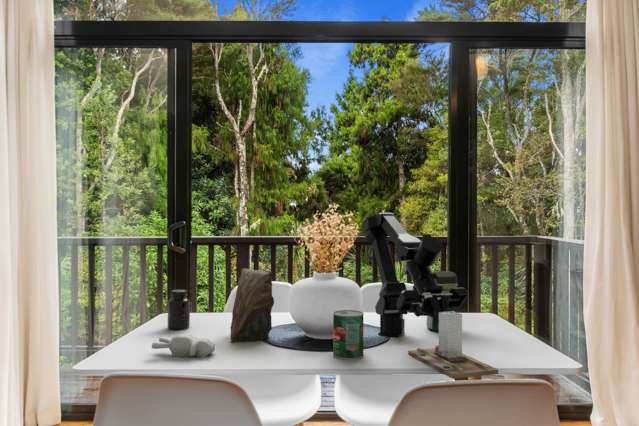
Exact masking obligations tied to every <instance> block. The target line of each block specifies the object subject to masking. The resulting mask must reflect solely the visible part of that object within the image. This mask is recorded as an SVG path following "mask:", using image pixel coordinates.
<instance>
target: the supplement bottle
mask: <svg viewBox="0 0 639 426" xmlns="http://www.w3.org/2000/svg"><path fill="white" fill-rule="evenodd" d="M187 296H188V291H187V290H186V289H173V290H171V294H170V297H171V298H170V299H169V300H168V301H167V329H168V330H171V331H182V330H187V329H189V328H190V321H191V318H190V317H191V316H190V314H191V302H190V299H188V298H187Z"/></svg>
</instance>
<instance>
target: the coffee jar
mask: <svg viewBox="0 0 639 426" xmlns="http://www.w3.org/2000/svg"><path fill="white" fill-rule="evenodd" d="M432 273H433V274H434V273H436V275H437V278H436V282H437V284H438V286H442V287H443V290H442V293H449V291H450V290H451V288H458V284H459V283H458V277H457V273H455V272H453V271H450V270H449V271H447V270H437V271H432ZM457 309H458V308H449V307H447V312H449V311H454V312H457V313H458V311H457ZM426 328H427V330H429V331H434V332H439V323H438V322H437V321H436V320H435V319H434V318H433V317H432V316H431V315H429V316H426Z"/></svg>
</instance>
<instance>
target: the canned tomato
mask: <svg viewBox="0 0 639 426" xmlns="http://www.w3.org/2000/svg"><path fill="white" fill-rule="evenodd" d="M332 315H333V316H332V318H333V319H332V321H333V323H332V324H333V326H332V327H333V329H332V330H333V331H332V332H333V335H332V336H333V337H332V341H333V343H332V345H333V346H332V347H333V348H332V349H333V350H332V351H333V353H332V355H333V357H335V358H337V359H338V360H339V359H340V360H345V361H346V360H348V361H349V360H359V359H362V358H363V357H364V315H365V314H364V312H362V311H360V310H353V309H352V310H351V309H342V310H341V309H340V310H336V311H333V312H332Z"/></svg>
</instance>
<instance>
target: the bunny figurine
mask: <svg viewBox="0 0 639 426" xmlns="http://www.w3.org/2000/svg"><path fill="white" fill-rule="evenodd" d="M158 340H159V342H152V344H151V349H154V350H155V349H156V350H158V349H159V350H160V349H169V350H170V353H171V354H172V356H174V357H179V358H186V357H193V356H196V357H198V358H206V357H207V356H208V355H212V354H213V352H215V350H216V344H215V343H213V342H212V341H211V340H210V338H206V337H204V338H203V337H202V338H200V337H195V336H194V335H192V334H188V333H179V334H177V335H174V336H173V337H172V338H169V337H165V336H161V337H159V338H158Z"/></svg>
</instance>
